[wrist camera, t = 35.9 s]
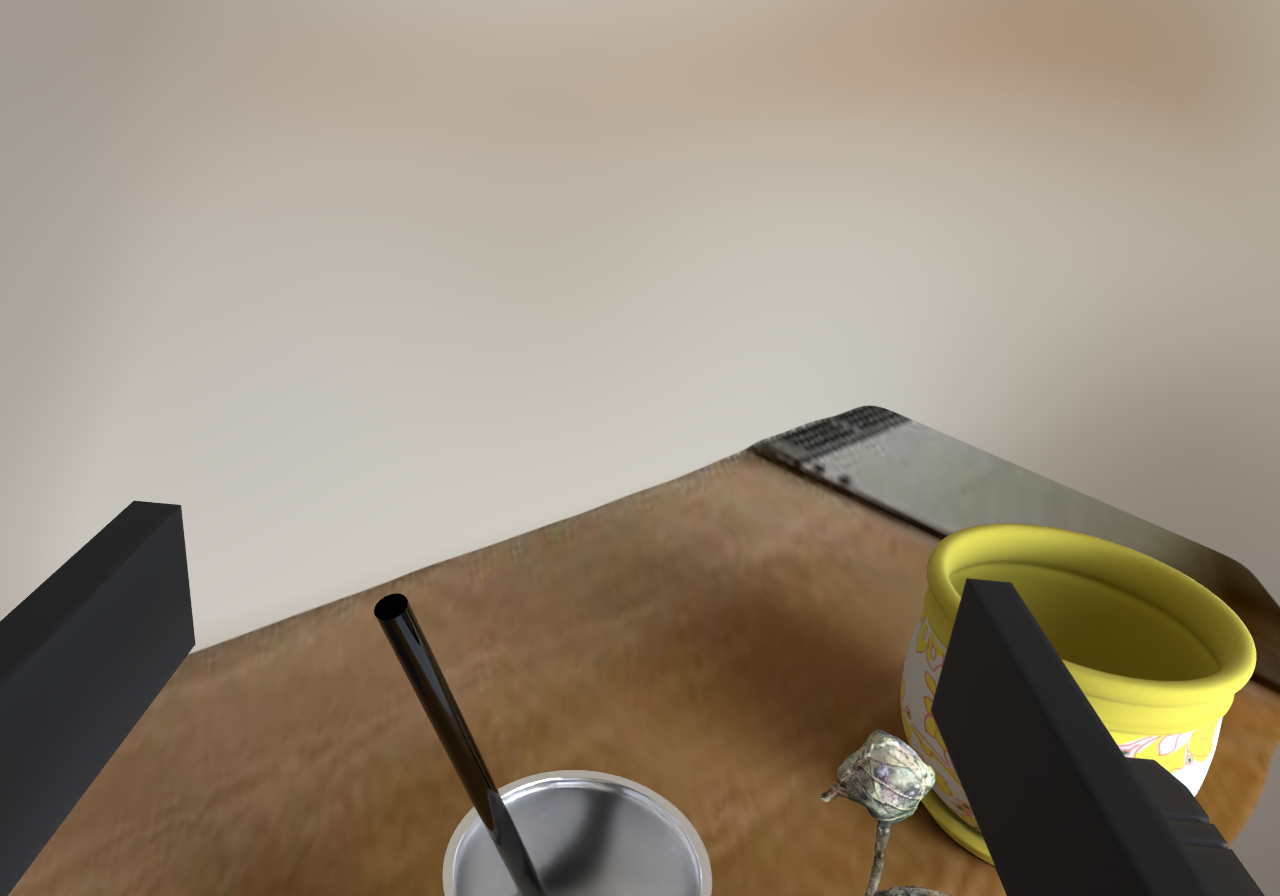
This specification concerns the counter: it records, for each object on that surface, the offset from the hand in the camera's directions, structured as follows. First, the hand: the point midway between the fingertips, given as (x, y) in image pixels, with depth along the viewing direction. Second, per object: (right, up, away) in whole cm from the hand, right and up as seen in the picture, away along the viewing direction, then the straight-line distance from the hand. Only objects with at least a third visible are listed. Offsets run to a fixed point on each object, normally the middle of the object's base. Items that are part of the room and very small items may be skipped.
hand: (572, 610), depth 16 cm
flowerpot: (+26, -21, +47) cm, 57 cm away
